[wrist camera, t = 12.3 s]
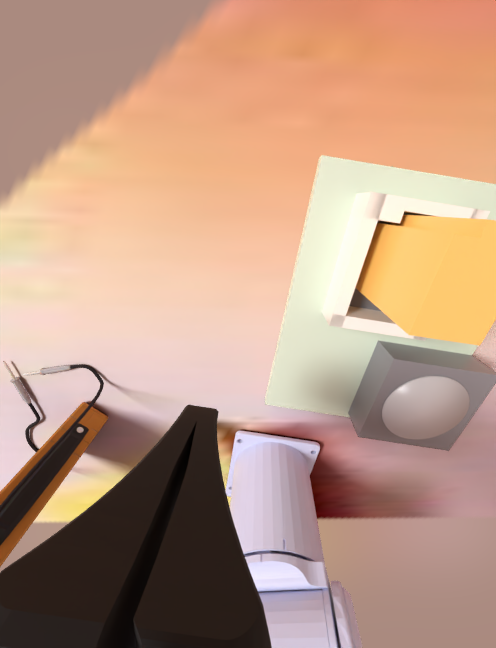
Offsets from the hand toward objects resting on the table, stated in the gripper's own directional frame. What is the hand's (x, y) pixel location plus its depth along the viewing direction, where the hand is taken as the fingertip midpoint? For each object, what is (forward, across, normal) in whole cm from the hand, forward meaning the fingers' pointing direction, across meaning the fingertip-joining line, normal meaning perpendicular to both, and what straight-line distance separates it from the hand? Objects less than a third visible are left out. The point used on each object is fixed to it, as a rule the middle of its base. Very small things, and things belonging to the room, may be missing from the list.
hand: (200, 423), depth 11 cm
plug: (+8, -10, -7) cm, 15 cm away
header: (+9, -10, -6) cm, 15 cm away
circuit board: (+9, -11, -3) cm, 15 cm away
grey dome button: (+9, -14, +2) cm, 17 cm away
